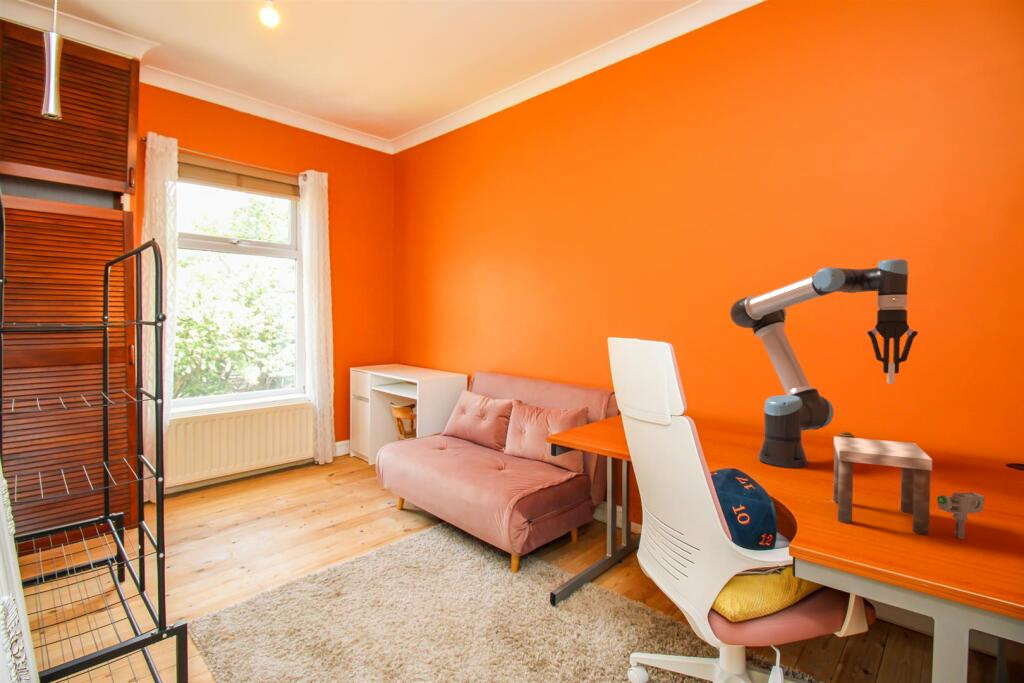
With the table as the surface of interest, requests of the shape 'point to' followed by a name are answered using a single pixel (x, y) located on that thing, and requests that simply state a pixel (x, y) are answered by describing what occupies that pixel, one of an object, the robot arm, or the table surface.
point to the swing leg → (836, 476)
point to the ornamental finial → (845, 435)
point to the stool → (889, 454)
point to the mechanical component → (961, 508)
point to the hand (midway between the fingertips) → (890, 383)
